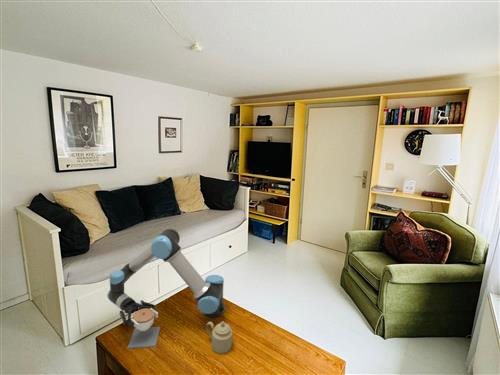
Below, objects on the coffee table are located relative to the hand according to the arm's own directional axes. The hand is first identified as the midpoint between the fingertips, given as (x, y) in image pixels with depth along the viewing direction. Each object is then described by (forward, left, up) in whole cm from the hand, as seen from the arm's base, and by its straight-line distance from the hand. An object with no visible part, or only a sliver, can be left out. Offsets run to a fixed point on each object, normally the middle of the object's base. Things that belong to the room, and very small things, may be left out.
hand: (148, 320), depth 140 cm
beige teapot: (-37, +6, -13) cm, 40 cm away
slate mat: (+3, -3, -13) cm, 13 cm away
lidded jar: (+3, -3, -6) cm, 7 cm away
